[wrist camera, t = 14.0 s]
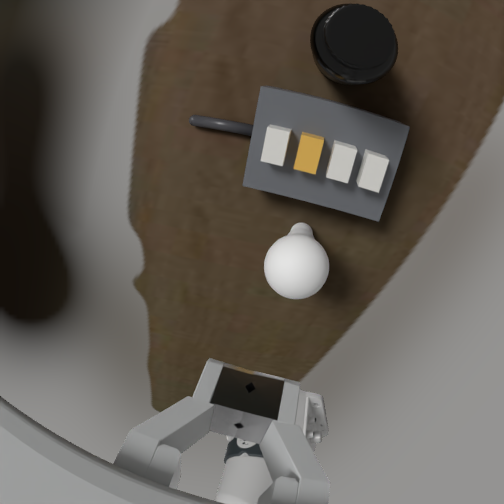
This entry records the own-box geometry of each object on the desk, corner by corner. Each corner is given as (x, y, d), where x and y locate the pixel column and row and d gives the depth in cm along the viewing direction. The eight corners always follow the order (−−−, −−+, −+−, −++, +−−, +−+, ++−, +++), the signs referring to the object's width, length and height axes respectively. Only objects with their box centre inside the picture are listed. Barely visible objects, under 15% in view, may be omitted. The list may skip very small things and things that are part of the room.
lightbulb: (339, 229, 36) (343, 286, 27) (303, 261, 39) (295, 322, 30) (300, 194, 35) (291, 241, 26) (265, 230, 38) (244, 284, 29)
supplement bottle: (393, 57, 25) (431, 46, 15) (347, 98, 29) (363, 106, 18) (343, 10, 24) (356, -27, 14) (297, 51, 27) (286, 34, 17)
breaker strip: (399, 121, 28) (415, 129, 24) (373, 206, 34) (381, 229, 29) (197, 75, 30) (175, 75, 25) (186, 160, 35) (164, 175, 31)
